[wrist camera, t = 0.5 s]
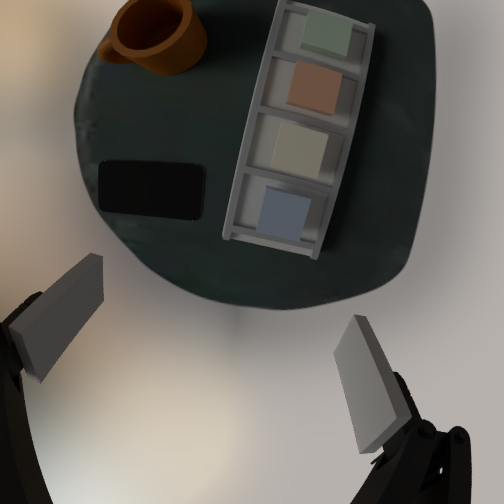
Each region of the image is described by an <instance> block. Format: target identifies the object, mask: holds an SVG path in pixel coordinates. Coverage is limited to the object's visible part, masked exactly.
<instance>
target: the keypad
mask: <svg viewBox="0 0 504 504" xmlns="http://www.w3.org/2000/svg"><path fill="white" fill-rule="evenodd" d="M310 9H313V10H316V11H320V12H323V13H326V14H330V15H333V16H336V17H339V18H342V19H345V20H348V21H350V22H353V26H352V31H351V36H350V41H349V46H348V51H347V56H346V57H345V58H344V59H343V60H342V61H339V60H337V59H334V58H330V57H327V56H324V55H321V54H317V53H314V52H311V51H307V50H303V49H299V47H300V43H301V38H302V34H303V30H304V26H305V22H306V18H307V15H308V12H309V10H310ZM374 32H375V25H374V24H372V23H369V24H365V23H362V22H359V21H357V20H354V19H351V18H349V17H346V16H343V15H340V14H337V13H334V12H331V11H328V10H324V9H321V8H317V7H314V6H310V5H306V4H302V3H298V2H294V1H289V0H278V4H277V7H276V11H275V14H274V18H273V21H272V25H271V29H270V32H269V36H268V40H267V43H266V47H265V51H264V55H263V58H262V62H261V66H260V70H259V74H258V78H257V82H256V86H255V90H254V94H253V98H252V102H251V106H250V110H249V114H248V119H247V123H246V127H245V131H244V136H243V140H242V145H241V149H240V153H239V158H238V162H237V167H236V171H235V176H234V181H233V185H232V190H231V195H230V200H229V204H228V209H227V214H226V219H225V224H224V229H223V234H222V237H223V239H225V240H230V238H232V239H236V240H241V241H245V242H250V243H254V244H259V245H263V246H268V247H272V248H277V249H281V250H286V251H290V252H295V253H299V254H304V255H308V256H310V258H311V259H315V260H317V258H318V255H319V252H320V249H321V246H322V243H323V240H324V237H325V234H326V231H327V227H328V224H329V221H330V218H331V214H332V211H333V208H334V204H335V201H336V198H337V194H338V191H339V187H340V184H341V180H342V177H343V173H344V169H345V166H346V162H347V158H348V154H349V151H350V147H351V143H352V139H353V135H354V131H355V127H356V122H357V118H358V114H359V109H360V105H361V100H362V96H363V91H364V86H365V82H366V77H367V72H368V66H369V61H370V56H371V50H372V44H373V38H374ZM297 60H299V61H303V62H307V63H310V64H314V65H317V66H320V67H324V68H327V69H330V70H333V71H336V72H339V73H342V74H343V75H342V80H341V84H340V89H339V93H338V98H337V102H336V106H335V110H334V115H331V116H326V115H323V114H320V113H316V112H313V111H309V110H306V109H302V108H299V107H295V106H291V105H287V104H286V100H287V96H288V92H289V88H290V83H291V79H292V75H293V71H294V67H295V64H296V62H297ZM282 122H285V123H289V124H293V125H297V126H300V127H304V128H308V129H311V130H315V131H318V132H322V133H325V134H328V139H327V143H326V147H325V151H324V155H323V159H322V163H321V166H320V170H319V174H318V178H317V179H315V178H311V177H307V176H304V175H300V174H296V173H292V172H288V171H284V170H280V169H276V168H272V167H271V162H272V158H273V153H274V149H275V145H276V141H277V137H278V133H279V129H280V125H281V123H282ZM266 185H267V186H271V187H276V188H280V189H284V190H288V191H292V192H296V193H300V194H304V195H308V196H309V197H310V198H311V203H310V206H309V210H308V214H307V217H306V220H305V224H304V227H303V231H302V234H301V238H300V241H299V242H298V241H293V240H289V239H285V238H280V237H276V236H271V235H267V234H262V233H258V232H256V224H257V220H258V216H259V212H260V207H261V203H262V199H263V195H264V191H265V187H266Z"/></svg>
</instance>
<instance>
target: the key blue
mask: <svg viewBox="0 0 504 504" xmlns="http://www.w3.org/2000/svg"><path fill="white" fill-rule="evenodd" d="M310 203H311V198H310V197H309V196H308V195H304V194H300V193H296V192H292V191H288V190H284V189H280V188H276V187H271V186H267V185H266V187H265V191H264V195H263V199H262V203H261V207H260V212H259V216H258V220H257V224H256V232H258V233H262V234H267V235H271V236H276V237H280V238H285V239H289V240H293V241H298V242H299V241H300V238H301V234H302V231H303V227H304V224H305V220H306V217H307V214H308V210H309V206H310Z"/></svg>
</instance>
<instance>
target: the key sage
mask: <svg viewBox="0 0 504 504" xmlns="http://www.w3.org/2000/svg"><path fill="white" fill-rule="evenodd" d="M352 26H353V22H350V21H348V20H345V19H342V18H339V17H336V16H333V15H330V14H326V13H323V12H320V11H316V10H313V9H310V10H309V12H308V15H307V18H306V22H305V26H304V30H303V34H302V38H301V43H300V47H299V49H303V50H307V51H311V52H314V53H317V54H321V55H324V56H327V57H330V58H334V59H337V60H339V61H342V60H343V59H344V58H345V57H346V56H347V51H348V46H349V41H350V36H351V31H352Z"/></svg>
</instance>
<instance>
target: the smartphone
mask: <svg viewBox="0 0 504 504" xmlns="http://www.w3.org/2000/svg"><path fill="white" fill-rule="evenodd" d="M204 174H205V172H204V169H203V167H202V166H201V165H199V164H189V163H175V162H157V161H135V160H104V161H102V162H101V163H100V164H99V168H98V203H99V208H100V209H101V210H102V211H103V212H111V213H122V214H133V215H143V216H153V217H163V218H172V219H182V220H191V221H194V220H197V219H198V218H199V217H200V216H201V210H202V197H203V185H204Z"/></svg>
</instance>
